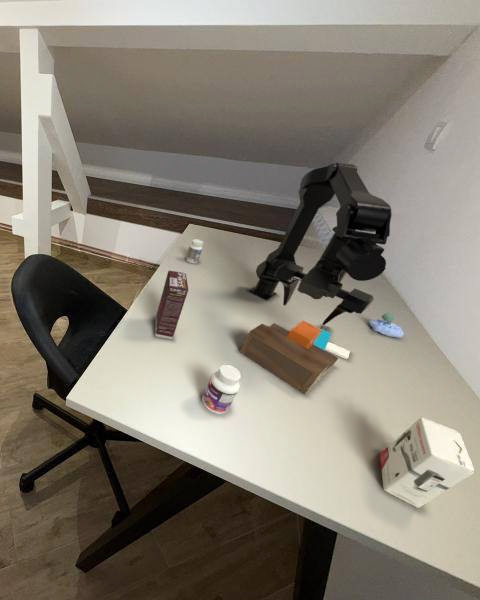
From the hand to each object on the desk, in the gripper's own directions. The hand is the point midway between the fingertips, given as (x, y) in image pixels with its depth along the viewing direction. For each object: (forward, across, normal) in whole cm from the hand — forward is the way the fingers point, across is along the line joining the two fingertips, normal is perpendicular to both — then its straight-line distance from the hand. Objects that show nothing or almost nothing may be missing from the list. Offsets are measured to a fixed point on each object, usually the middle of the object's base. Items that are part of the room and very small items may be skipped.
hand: (303, 314), depth 77 cm
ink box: (+10, +28, -19) cm, 36 cm away
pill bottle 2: (+11, 0, -33) cm, 35 cm away
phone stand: (+11, +6, +10) cm, 16 cm away
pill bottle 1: (+11, -45, +20) cm, 51 cm away
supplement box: (+11, -22, -23) cm, 34 cm away
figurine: (+11, +14, +35) cm, 39 cm away
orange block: (+8, +3, -1) cm, 8 cm away
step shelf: (+11, +3, -6) cm, 13 cm away
